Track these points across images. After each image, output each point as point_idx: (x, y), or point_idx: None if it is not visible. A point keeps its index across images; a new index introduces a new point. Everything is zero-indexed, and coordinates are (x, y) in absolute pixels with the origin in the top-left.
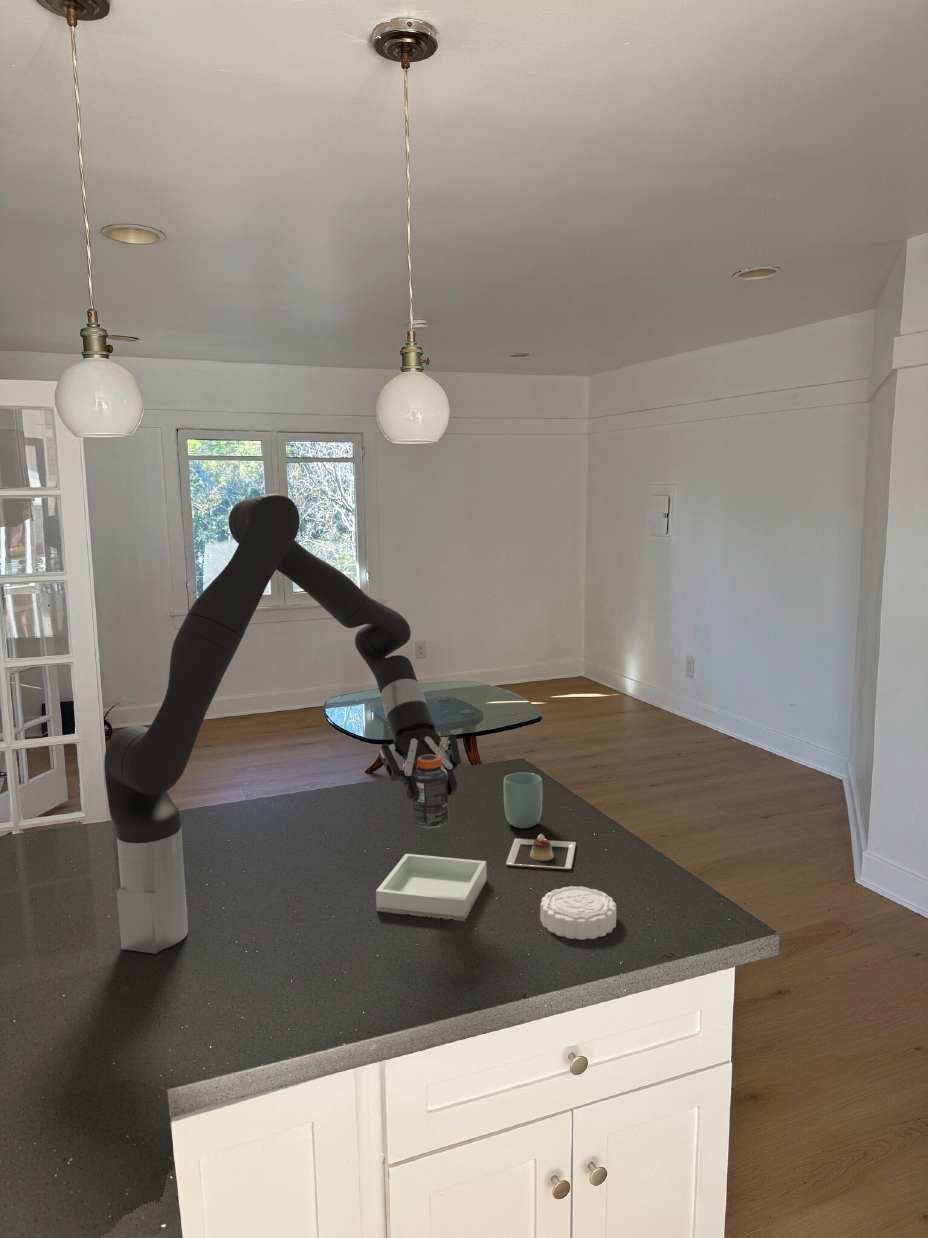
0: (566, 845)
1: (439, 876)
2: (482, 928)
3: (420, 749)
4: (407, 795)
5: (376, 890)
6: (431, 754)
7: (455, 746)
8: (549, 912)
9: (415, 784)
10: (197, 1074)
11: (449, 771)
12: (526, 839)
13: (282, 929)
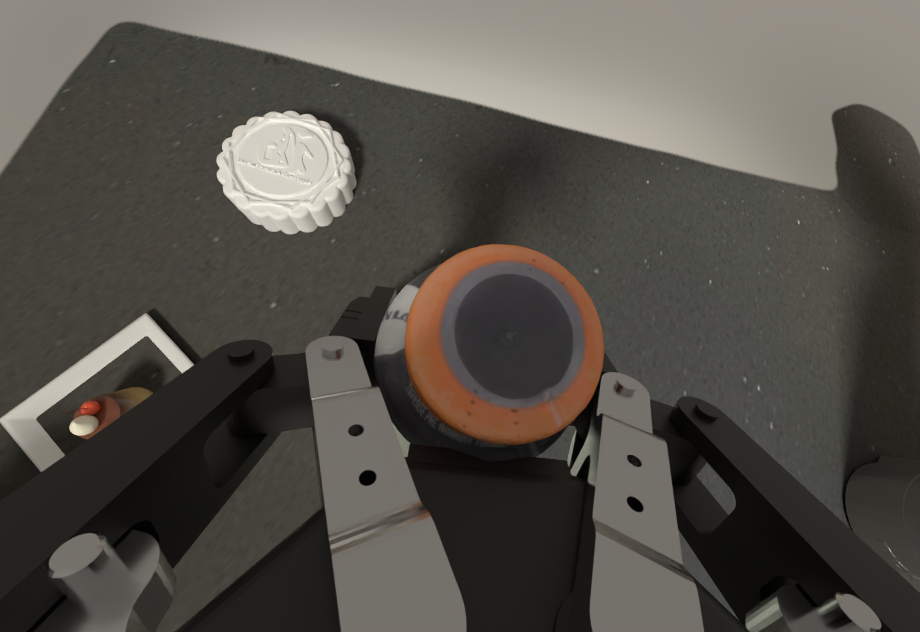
0: (30, 426)
1: (397, 434)
2: (433, 245)
3: (517, 544)
4: None
5: None
6: (445, 408)
7: (87, 464)
8: (347, 166)
9: None
10: (808, 192)
11: (352, 333)
12: None
13: None
